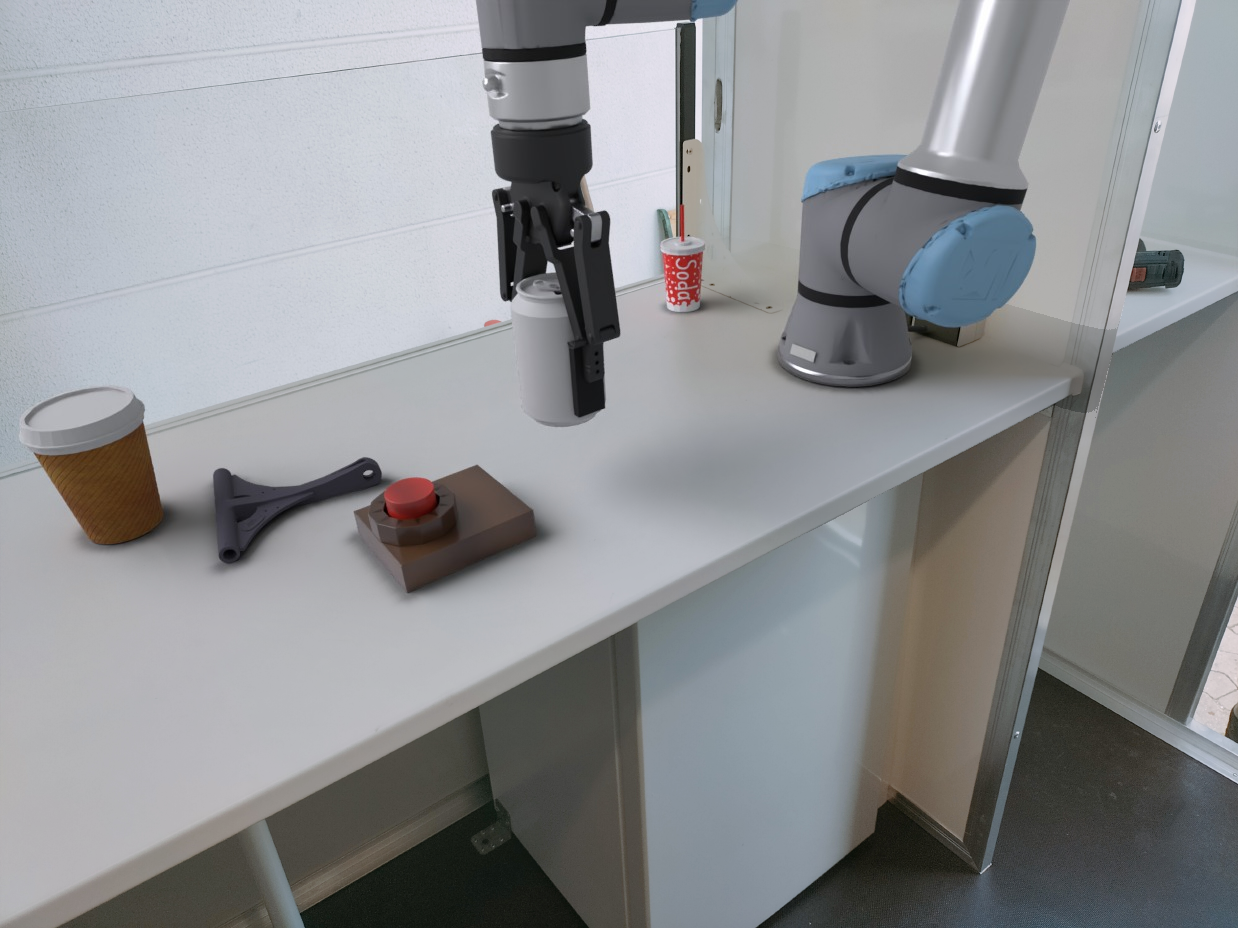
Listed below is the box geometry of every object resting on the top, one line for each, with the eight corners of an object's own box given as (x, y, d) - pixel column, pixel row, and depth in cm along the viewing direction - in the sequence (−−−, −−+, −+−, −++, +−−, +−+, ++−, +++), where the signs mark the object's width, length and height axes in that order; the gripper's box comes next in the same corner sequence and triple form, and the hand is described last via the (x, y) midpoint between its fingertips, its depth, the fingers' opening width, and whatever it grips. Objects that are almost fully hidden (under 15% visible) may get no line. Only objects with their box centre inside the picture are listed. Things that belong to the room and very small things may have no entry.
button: (424, 489, 73) (421, 471, 72) (445, 509, 70) (442, 491, 69) (380, 506, 71) (376, 488, 70) (400, 527, 68) (396, 509, 67)
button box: (481, 488, 80) (474, 447, 78) (536, 536, 73) (531, 492, 71) (359, 536, 74) (348, 493, 72) (407, 593, 67) (396, 547, 65)
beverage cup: (656, 313, 117) (654, 210, 110) (667, 298, 122) (664, 199, 115) (700, 315, 116) (700, 211, 109) (709, 300, 121) (709, 199, 114)
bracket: (398, 518, 76) (392, 492, 75) (221, 565, 71) (212, 538, 70) (369, 449, 88) (364, 425, 87) (215, 486, 83) (207, 461, 82)
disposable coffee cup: (190, 531, 76) (146, 411, 70) (70, 569, 72) (12, 446, 66) (174, 485, 83) (133, 373, 77) (64, 518, 79) (11, 402, 73)
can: (596, 434, 72) (587, 298, 66) (511, 429, 74) (495, 296, 68) (614, 395, 78) (607, 268, 72) (536, 391, 80) (523, 266, 74)
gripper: (434, 113, 69) (471, 371, 81) (573, 144, 55) (594, 453, 66) (514, 102, 73) (539, 350, 84) (664, 128, 58) (669, 423, 70)
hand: (563, 395), depth 75 cm, fingers closed on can, 7 cm apart
